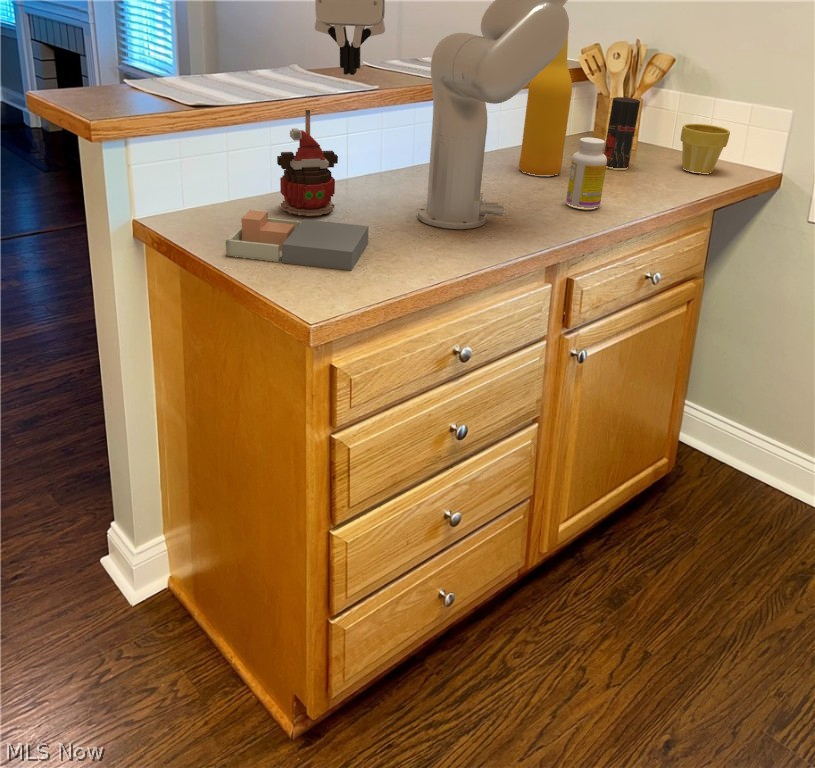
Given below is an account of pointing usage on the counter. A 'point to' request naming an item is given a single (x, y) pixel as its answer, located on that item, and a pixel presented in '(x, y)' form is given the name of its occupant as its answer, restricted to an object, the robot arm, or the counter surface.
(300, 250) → the slate board
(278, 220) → the sage bin
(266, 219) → the tile
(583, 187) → the supplement bottle
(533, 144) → the beer bottle
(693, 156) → the plant pot
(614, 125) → the deodorant
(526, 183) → the counter surface
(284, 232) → the tile
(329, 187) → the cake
